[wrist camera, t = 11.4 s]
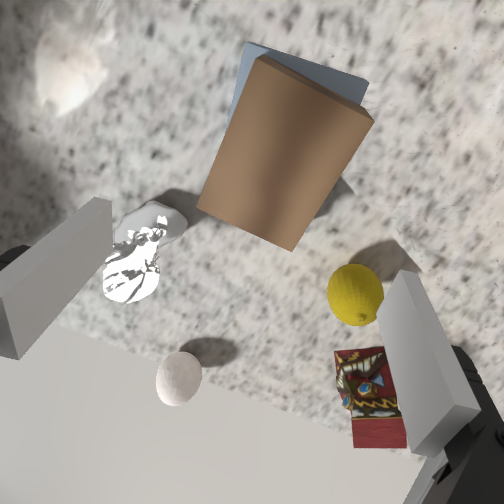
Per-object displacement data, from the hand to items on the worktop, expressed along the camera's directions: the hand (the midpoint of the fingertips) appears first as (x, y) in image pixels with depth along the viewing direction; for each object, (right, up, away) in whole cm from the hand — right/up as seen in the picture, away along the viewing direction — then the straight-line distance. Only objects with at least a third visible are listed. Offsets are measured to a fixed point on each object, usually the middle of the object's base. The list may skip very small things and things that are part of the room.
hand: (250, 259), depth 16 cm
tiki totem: (+16, -16, +32) cm, 39 cm away
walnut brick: (+3, +9, +15) cm, 18 cm away
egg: (-9, -15, +35) cm, 39 cm away
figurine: (-10, +3, +23) cm, 26 cm away
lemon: (+11, -2, +23) cm, 26 cm away
